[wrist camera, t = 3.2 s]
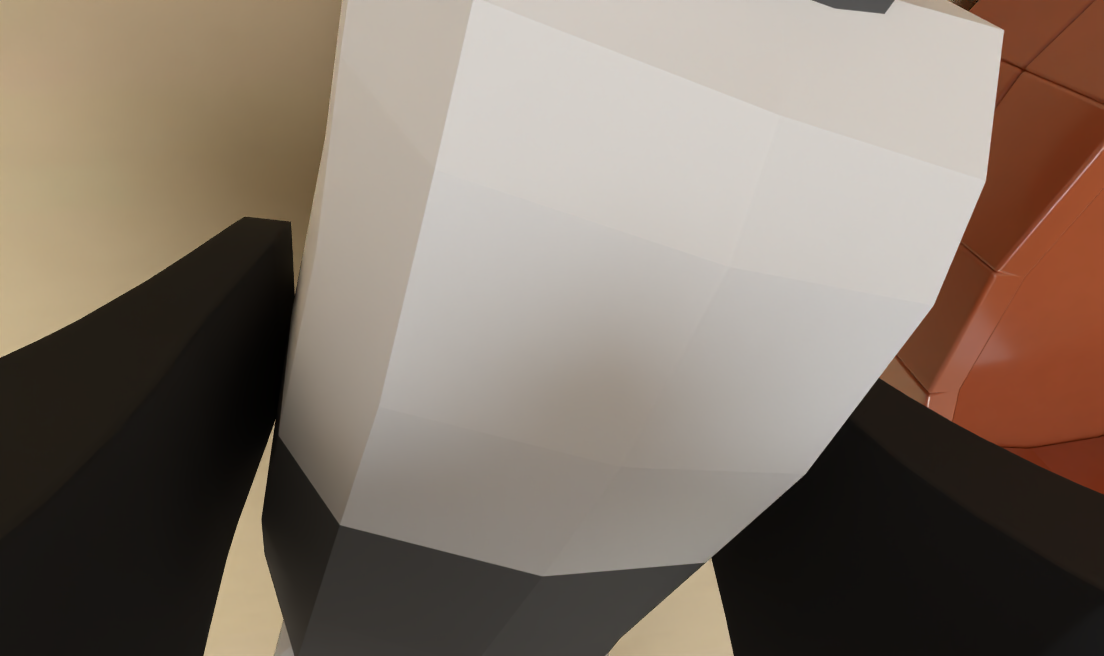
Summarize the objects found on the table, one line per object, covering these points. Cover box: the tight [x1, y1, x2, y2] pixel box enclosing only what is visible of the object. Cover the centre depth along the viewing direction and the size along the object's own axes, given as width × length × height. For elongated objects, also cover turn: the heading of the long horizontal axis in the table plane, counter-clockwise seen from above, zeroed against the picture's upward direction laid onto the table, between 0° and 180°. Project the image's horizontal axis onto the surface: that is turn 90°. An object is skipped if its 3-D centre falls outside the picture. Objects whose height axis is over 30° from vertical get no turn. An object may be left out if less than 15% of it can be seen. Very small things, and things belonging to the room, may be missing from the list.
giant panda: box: [262, 0, 1004, 656], centre depth 9 cm, size 15×6×10 cm, turn 160°
